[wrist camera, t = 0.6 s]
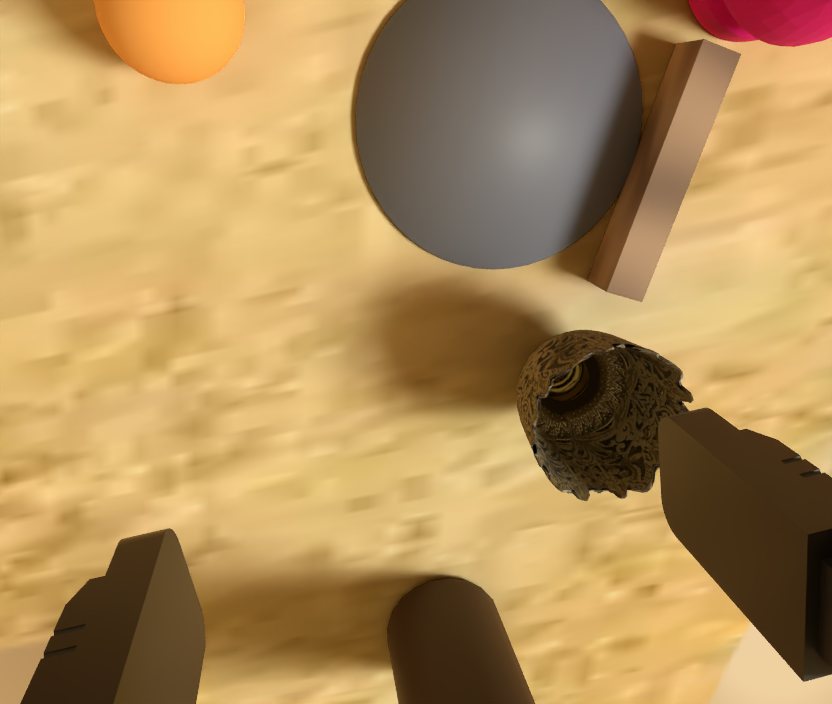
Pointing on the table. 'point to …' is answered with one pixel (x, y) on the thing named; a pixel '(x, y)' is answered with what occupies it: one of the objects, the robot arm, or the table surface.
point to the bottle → (453, 648)
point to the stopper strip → (663, 166)
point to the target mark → (498, 125)
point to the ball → (173, 35)
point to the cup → (597, 411)
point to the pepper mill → (766, 20)
